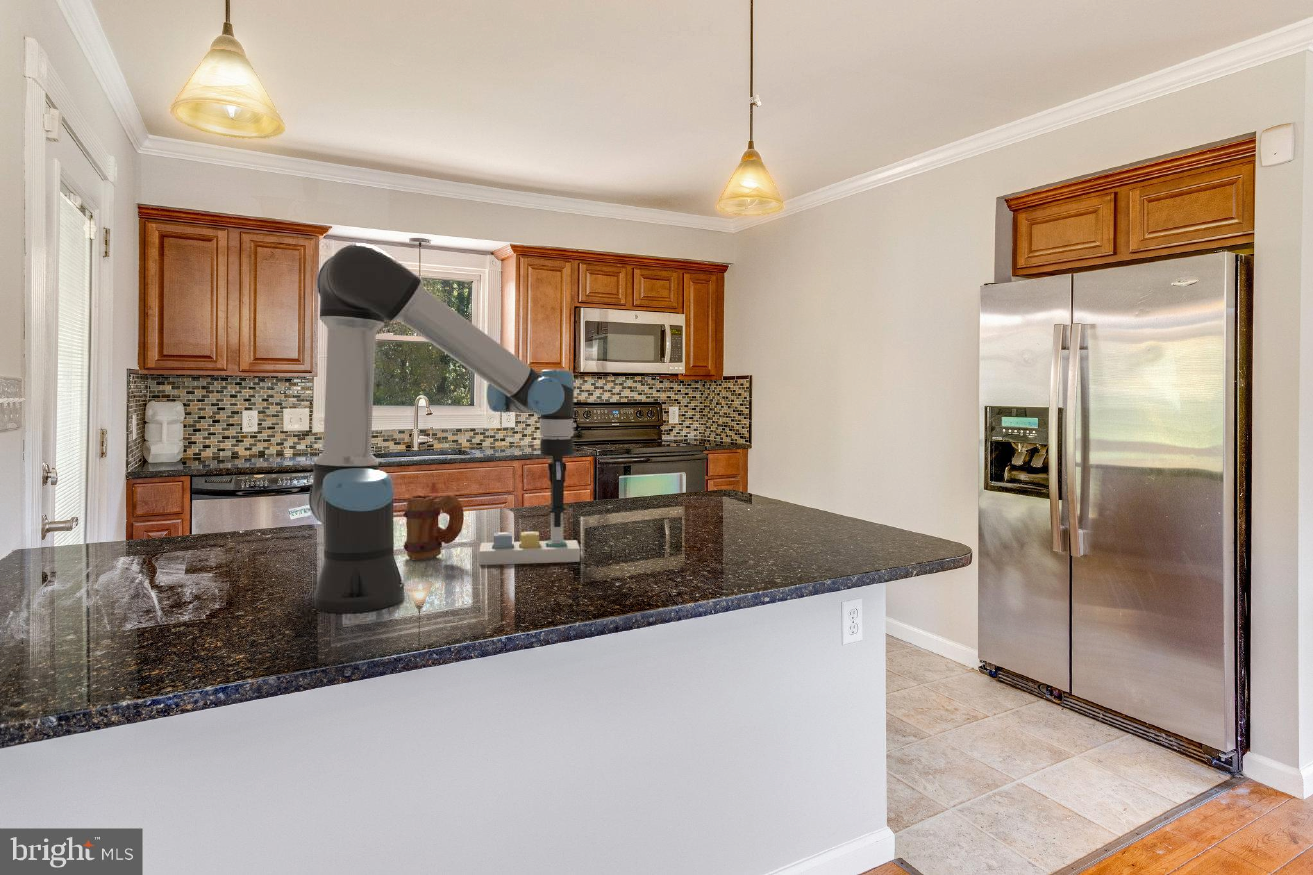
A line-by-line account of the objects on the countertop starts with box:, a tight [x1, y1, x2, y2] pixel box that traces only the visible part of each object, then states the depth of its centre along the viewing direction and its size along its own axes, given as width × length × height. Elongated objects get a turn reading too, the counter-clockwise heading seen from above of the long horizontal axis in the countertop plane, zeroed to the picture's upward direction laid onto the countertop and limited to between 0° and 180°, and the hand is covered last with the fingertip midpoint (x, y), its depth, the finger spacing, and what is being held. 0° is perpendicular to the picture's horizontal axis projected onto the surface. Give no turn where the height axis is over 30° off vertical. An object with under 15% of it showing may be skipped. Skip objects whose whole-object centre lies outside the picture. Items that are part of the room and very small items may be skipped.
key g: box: [546, 539, 566, 547], centre depth 166 cm, size 4×4×3 cm
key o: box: [493, 531, 513, 549], centre depth 163 cm, size 4×4×3 cm
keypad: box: [478, 539, 581, 566], centre depth 164 cm, size 22×9×3 cm, turn 101°
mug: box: [402, 493, 465, 561], centre depth 162 cm, size 15×8×15 cm, turn 73°
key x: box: [520, 531, 540, 548], centre depth 164 cm, size 4×4×3 cm
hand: (556, 540), depth 165 cm, fingers closed
